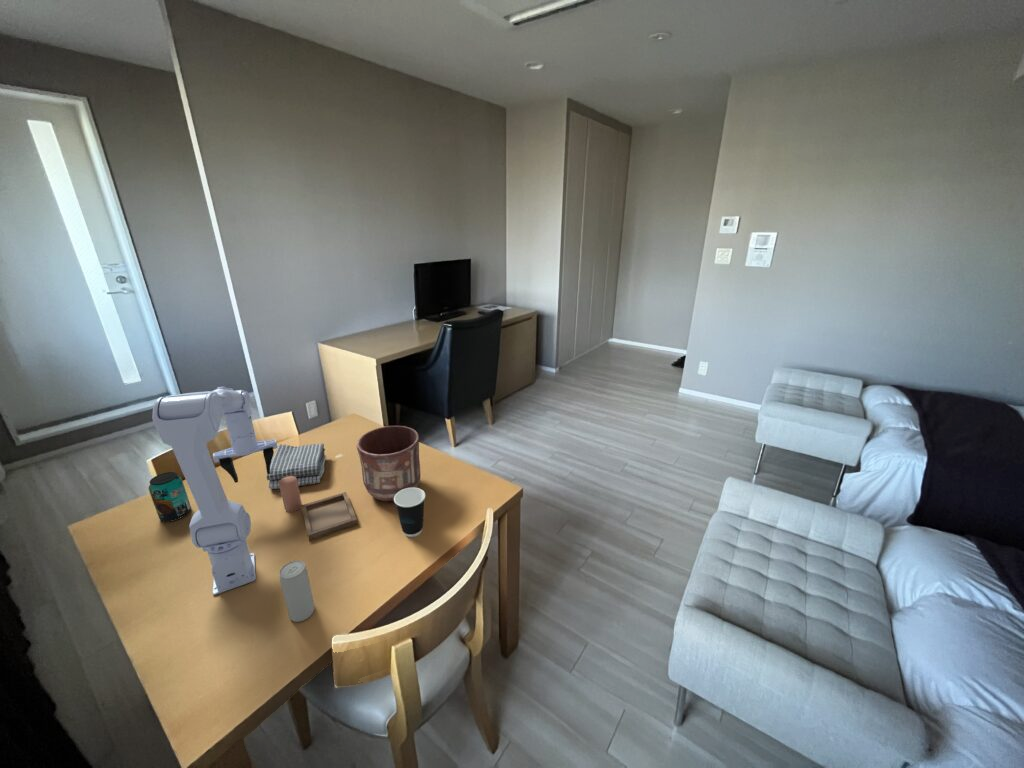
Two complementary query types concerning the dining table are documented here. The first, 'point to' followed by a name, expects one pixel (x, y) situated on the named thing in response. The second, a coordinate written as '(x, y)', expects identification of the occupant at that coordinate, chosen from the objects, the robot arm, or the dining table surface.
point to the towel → (297, 464)
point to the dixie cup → (410, 510)
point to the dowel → (290, 493)
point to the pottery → (389, 460)
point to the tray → (328, 515)
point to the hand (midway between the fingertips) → (252, 476)
